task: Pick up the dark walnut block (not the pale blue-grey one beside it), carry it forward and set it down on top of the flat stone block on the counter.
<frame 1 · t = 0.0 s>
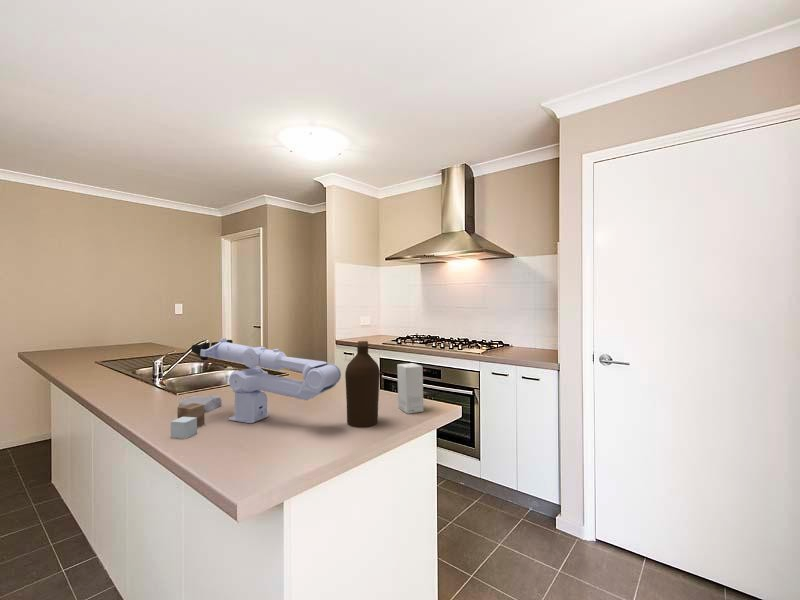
hand: (202, 346, 129), 22 cm above the countertop, tool horizontal, fingers open, 7 cm apart
blue-grey block: (184, 435, 107), on the countertop
olive oil: (362, 423, 119), on the countertop
walnut block: (191, 426, 115), on the countertop
stone block: (198, 410, 133), on the countertop
skincare box: (409, 410, 132), on the countertop
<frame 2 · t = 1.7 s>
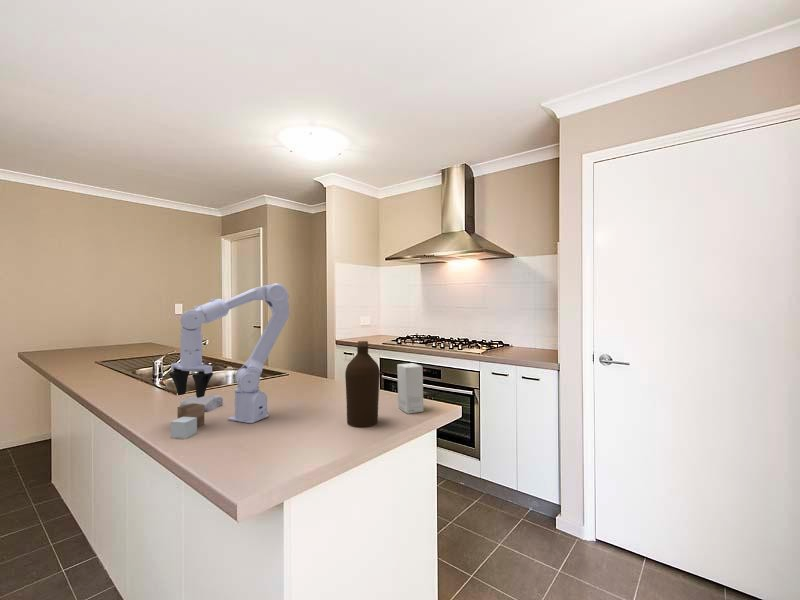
hand: (191, 395, 115), 9 cm above the countertop, tool pointing down, fingers open, 7 cm apart
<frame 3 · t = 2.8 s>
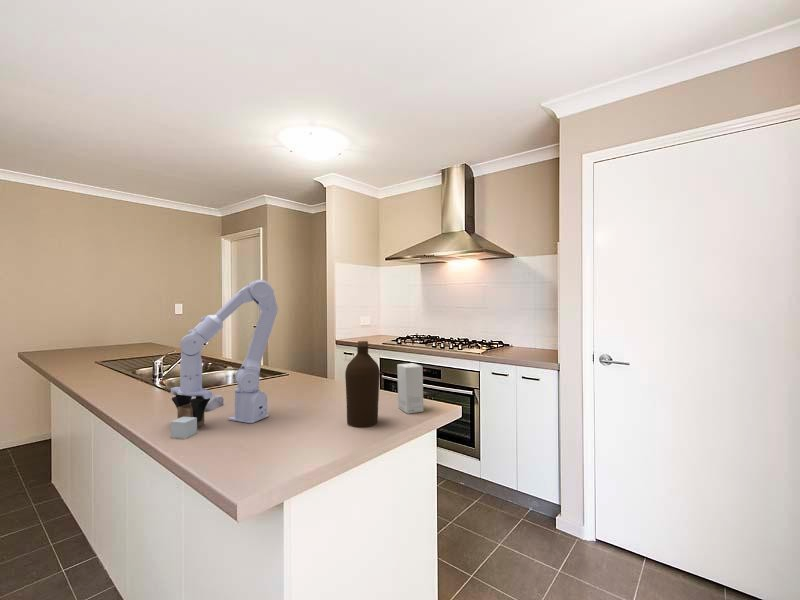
hand: (191, 420, 115), 2 cm above the countertop, tool pointing down, fingers closed on walnut block, 5 cm apart
walnut block: (191, 425, 115), on the countertop, touching gripper
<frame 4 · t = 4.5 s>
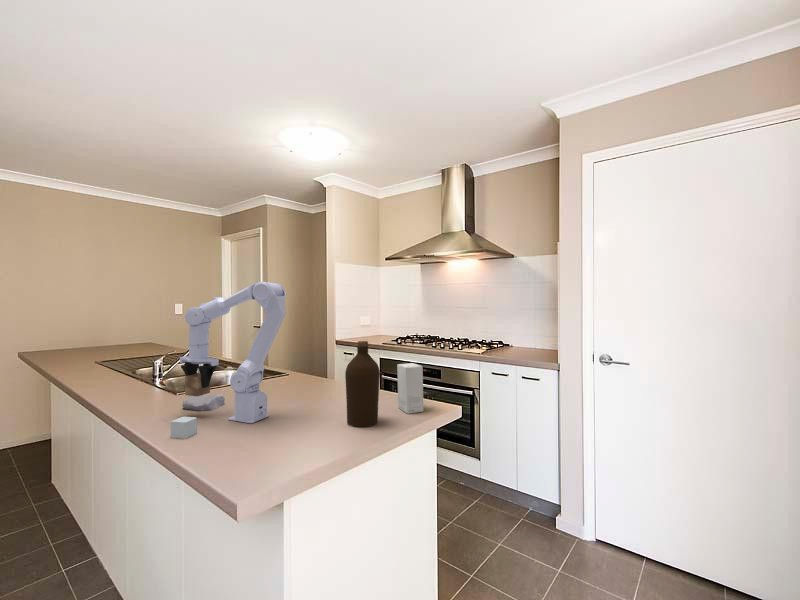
hand: (198, 386, 125), 9 cm above the countertop, tool pointing down, fingers closed on walnut block, 5 cm apart
walnut block: (197, 393, 124), point 7 cm above the countertop, touching gripper
when the fingers open (6 cm above the countertop, at t = 6.3 s): walnut block stays where it is, resting on stone block.
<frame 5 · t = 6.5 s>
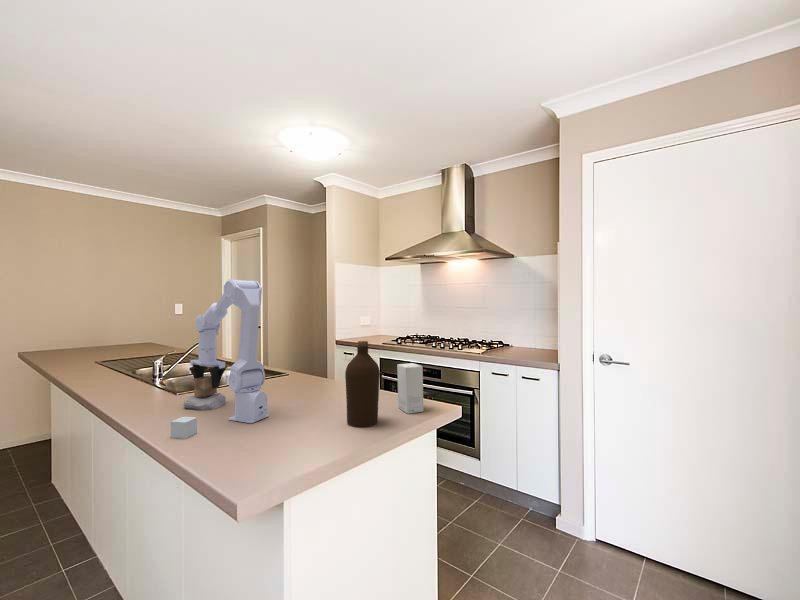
hand: (207, 386, 137), 6 cm above the countertop, tool pointing down, fingers open, 7 cm apart
walnut block: (205, 394, 137), point 4 cm above the countertop, touching stone block
stone block: (203, 407, 135), on the countertop, touching walnut block
everything else where it was.
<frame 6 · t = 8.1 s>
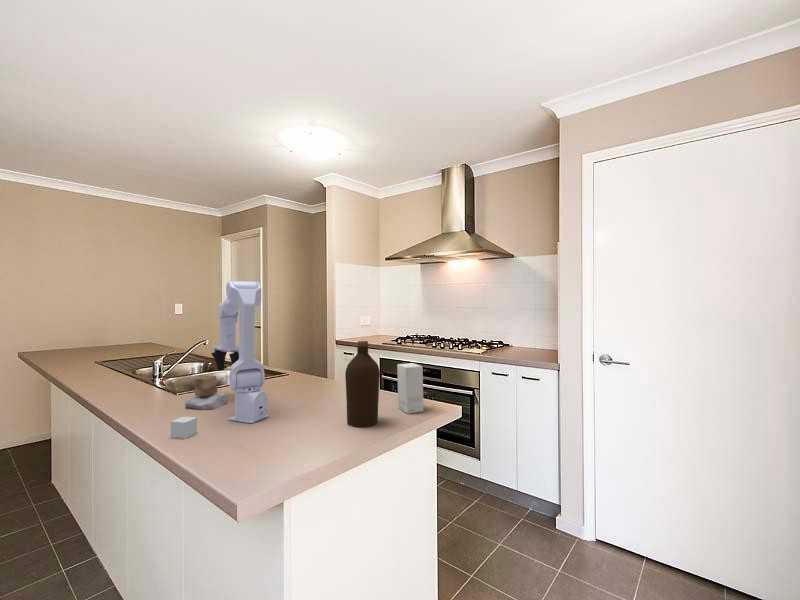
hand: (228, 371, 146), 10 cm above the countertop, tool pointing down, fingers open, 7 cm apart
walnut block: (206, 394, 137), point 4 cm above the countertop
stone block: (204, 407, 136), on the countertop
everything else where it was.
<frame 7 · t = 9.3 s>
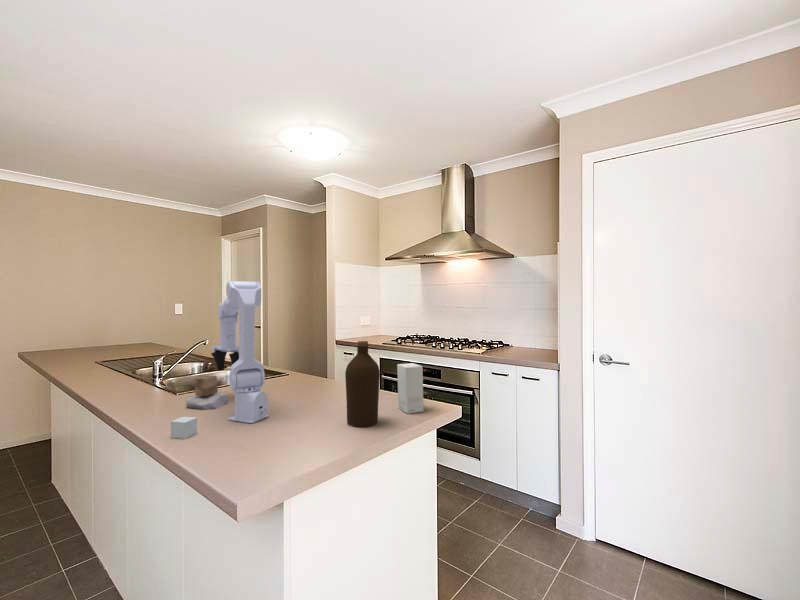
hand: (228, 371, 146), 10 cm above the countertop, tool pointing down, fingers open, 7 cm apart
walnut block: (206, 394, 137), point 4 cm above the countertop, touching stone block
stone block: (205, 407, 136), on the countertop, touching walnut block
everything else where it was.
at the end: walnut block inside the target area on the stone block (1.1 cm from its centre), point 4.4 cm above the stone block's base; walnut block tilted 4°; the gripper is holding nothing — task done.
